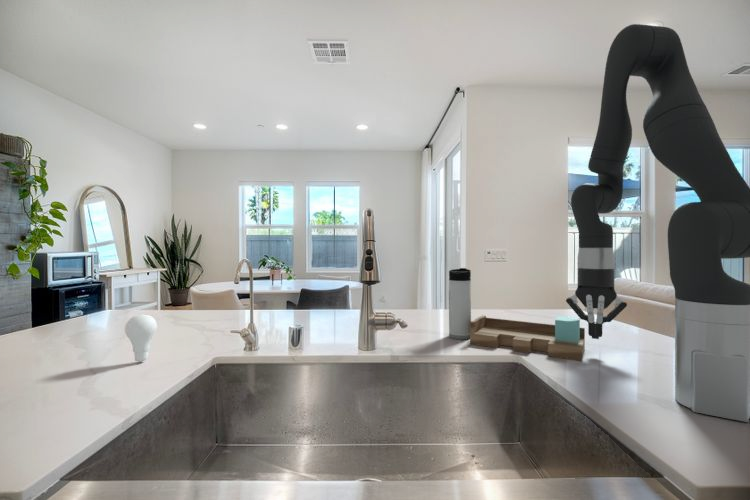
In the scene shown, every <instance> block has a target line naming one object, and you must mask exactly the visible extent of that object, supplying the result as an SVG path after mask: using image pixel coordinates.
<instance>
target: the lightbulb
mask: <svg viewBox="0 0 750 500" xmlns="http://www.w3.org/2000/svg"><path fill="white" fill-rule="evenodd" d="M157 329H158V324H157V320H156V319H155V318H154V317H153V316H151V315H150V314H149V315H148V314H143V313H141V314H137V315H134V316H132V317H131V318H129V319H128V321H126V323H125V326H124V333H125V335H126V337H127V338H128V339H129V341H130V343H131V345H132V352H133V353H134V361H135V362H138V363H139V362H141V363H144V362H145V361H146V360H148V358H149V350H150V346H151V341H152V339H153V337H154V336H155V334H156V332H157ZM143 361H144V362H143Z"/></svg>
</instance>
